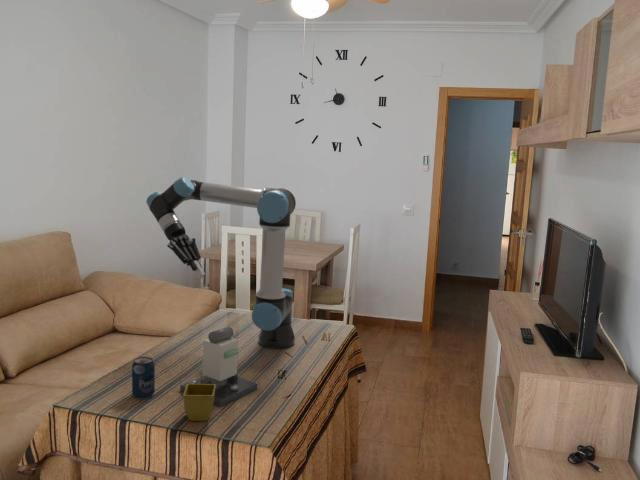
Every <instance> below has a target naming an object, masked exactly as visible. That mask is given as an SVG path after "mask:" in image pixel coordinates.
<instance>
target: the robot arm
mask: <svg viewBox="0 0 640 480" xmlns="http://www.w3.org/2000/svg"><path fill="white" fill-rule="evenodd" d="M190 200H193V201H194V200H196V201H203V202H209V203H219V204H225V205H234V206H239V207H246V208H247V207H248V208H255V209H256V210H257V211H256V212H257V213H258V216H259V219H258V220H259V222H258V225H259V227H261V228H262V243H261V244H262V245H261V258H260V259H261V262H260V264H261V265H260V277H259V278H260V280H259V281H260V282H259V283H260V284H259V290H258V291H257V292H256V293H255V299H254V300H255V301H254V302H255V304H254V307H253V309H252V312H251V320H252V322H253V324H254V325H255V326H256V327H257V328H258V329H260V332H259V335H258V339H257V340H258V341H257V342H258V344H260V345H261V346H262V347H266V348H271V349H286V348H290V347H292V346H293V345H295V342H296V341H295V340H296V338H295V337H296V336H295V333H294V330H293V326H292V319H293V318H292V317H293V316H292V315H293V314H292V313H293V299H294V296H293V290H291V289H288V288H286V287H285V288H283V280H284V279H283V277H284V261H285V248H286V247H285V244H286V242H285V241H286V231H287V230H288V229H289V227H291V214H293V212H294V210H295V209H296V205H297V203H296V198H295V196H294V194H293V193H292V191H290V190H288V189H286V188H282V187H281V188H273V187H272V188H270V187H264V188H263V189H258V188H251V187H250V188H249V187H243V186H235V185H227V184H219V183H211V182H203V181H200V180H196V179H195V180H194V179H191V180H190V179H188V178H187V177H186V176H181V177H180V178H178V179H176V180H175V181H174V182H173V183H172V184H171V185H170V186H168V188H167V189H166V190H164V191H163V192H162V191H154V192H153V193H151V194H150V195H148V197H147V198H146V202H145V203H146V205H147V207H148V209H149V211H150V213H152V215H153V217H154V218H155V220H156V221H157V223H158V225H159V227H160V229H161V230H162V231H163V232H164V235H165V236H166V238H167V240H168V241H169V243H168V244H167V245H166V246H167V248H168V249H170V250H171V251H172V252H173V253H174V254H175V255H176V256H177V258H178V259H179V260H180V261H181V262H182V263H183V264H184V265H186V266H187V267H189V266H190V268H191V270H192V271H193V272H194V273H195V275H196V276H197V278H198V280H199V279H202V278H203V277H204V276H205V275H206V273H205V271H204V269H203V268H202V267H203V266H202V265H201V263H200V261H199V260H200V259H201V258H202V256H201V254H200V252H199V249H198V245H197V243H196V238H194V237H193V238H190V237H189V236H188V235H187V233H186V229H185V227H184V225H183V223H182V222H181V221H180V219H179V217H178V216H177V213H176V212H175V209H176V208H177V207H178V206H180V205H181V204H182V203H183V202H186V201H190Z"/></svg>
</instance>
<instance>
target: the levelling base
mask: <svg viewBox="0 0 640 480" xmlns="http://www.w3.org/2000/svg"><path fill="white" fill-rule="evenodd" d="M187 384H212V378H210V377H207V376H204V375H202V376H201V377H198V378H196V379H191V380H189V381H187V382H185V383H184V384H181V385H179V386H180V387H179V388H180V389H179V391H180V392H181V393H184V392H185V389H186V386H187ZM215 384H216V388H215V396H214V402H213V406H214V405H215V406H217V407H220V408H221V407H223V406H225V405H227V404H229V403H231V402H233V401H235V400H238V399H240V398H242V397H244V396H246V395H248V394H250V393H253V392H254V391H256V390H258V385H259V384H258V383H257V382H254V381H252V380H248V379H246V378H243V377H241V376H239V369H238V368H237V374H236V375H234V376H232V377H229V378H227V379H225V380H222V381H219V382H217V383H215Z"/></svg>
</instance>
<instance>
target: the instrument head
mask: <svg viewBox="0 0 640 480" xmlns="http://www.w3.org/2000/svg"><path fill="white" fill-rule="evenodd" d="M207 335H208V337H207V338H206V339H203V343H202V345H203V347H202V376H207V377H210V378H212V384H215V383H217V382H219V381H222V380H225V379H227V378H229V377H232V376H234V375H236V374H237V369H238V354H239V340H238V339H236V338H234V337H233V336H234V330H233V328H232V327H231V326H226V327H223V328H221V329H220V328H219V329H217V330H214V331H211V332H209V333H208V334H207Z"/></svg>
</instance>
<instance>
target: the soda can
mask: <svg viewBox="0 0 640 480" xmlns="http://www.w3.org/2000/svg"><path fill="white" fill-rule="evenodd" d="M155 368H156V367H155V362H154V359H153V358H152V357H149V356H141V357H137V358H135V359H134V360H133V363H132V366H131V392H132V395H133V397H134V398H135V399H137V398H139V400H145V399H149V398H151V397H152V396H154V393H155V392H156V391H155V387H156V384H155V383H156V381H155V380H156V378H155V373H156V371H155V370H156V369H155Z"/></svg>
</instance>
